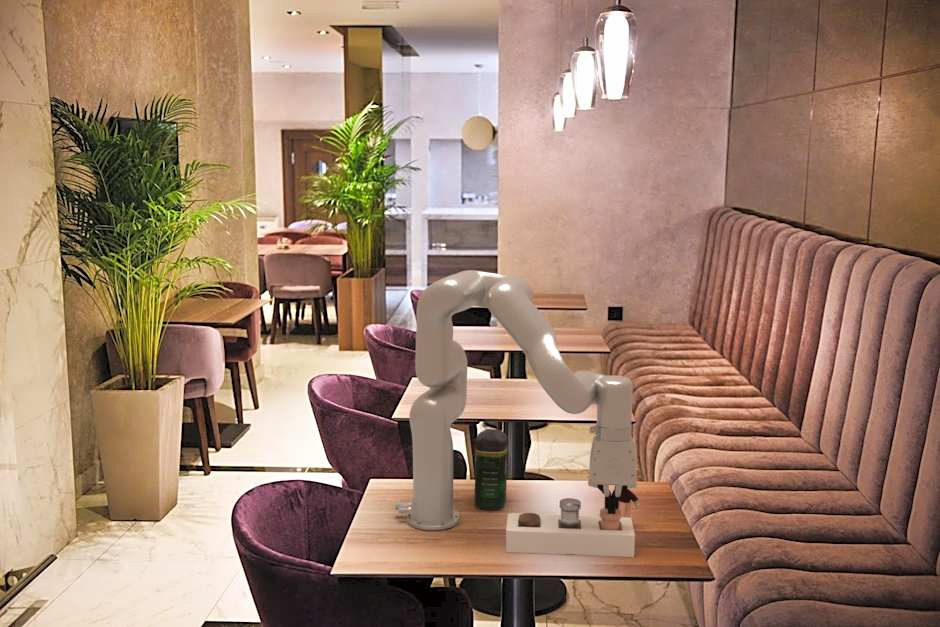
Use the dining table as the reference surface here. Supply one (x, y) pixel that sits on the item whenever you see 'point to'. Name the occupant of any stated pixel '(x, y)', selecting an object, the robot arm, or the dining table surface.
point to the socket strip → (570, 537)
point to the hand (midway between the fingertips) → (611, 511)
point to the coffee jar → (490, 469)
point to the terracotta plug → (610, 519)
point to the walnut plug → (529, 520)
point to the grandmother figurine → (627, 503)
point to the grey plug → (570, 513)
